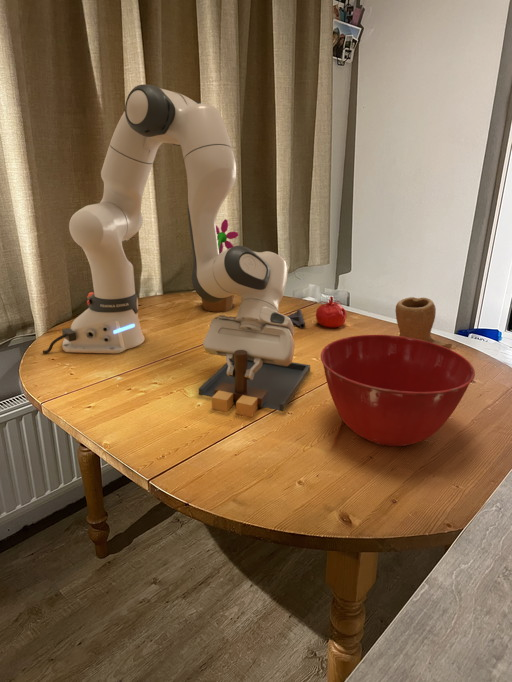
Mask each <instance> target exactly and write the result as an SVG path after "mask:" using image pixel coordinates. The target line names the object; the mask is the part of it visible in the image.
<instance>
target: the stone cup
mask: <svg viewBox="0 0 512 682" xmlns="http://www.w3.org/2000/svg"><path fill="white" fill-rule="evenodd" d="M395 319H396V323H397V326H398V330H399V336H402V337H408V338H414V339H419V340H423V341H427V342H431V343H434V344H437V345H440V346H443V347H446V348H448V349H450V350H451V348H452V347H453V343H452V342H447V341H442V340H439V339H435V338H432V336H431V335H432V334H431V332H432V329H433V326H434V323H435V319H436V305H435V303H434V301H433V300H432V299H430V298H429V297H428V298H427V297H414V296H411V297H406V298H402V299H401V300H399V301H398V302H397V303H396V305H395Z"/></svg>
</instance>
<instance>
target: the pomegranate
mask: <svg viewBox="0 0 512 682" xmlns="http://www.w3.org/2000/svg"><path fill="white" fill-rule="evenodd" d="M318 303H322V301H319V302H318ZM323 303H324V304H321V305H320V306H318V307H317V309H316V312H315V320H316V322H317V323H318V325H320V326H322V327H324V328H327V329H328V328H330V329H331V328H334V329H335V328H339V327H341V326H344V325H345V323H346V319H347V314H348V313H347V311H346V309H345V308H344V307H343V303H342V302H340V300H337V301H334V296H331V295H330V296H329V298H327V301H323Z"/></svg>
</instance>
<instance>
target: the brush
mask: <svg viewBox="0 0 512 682" xmlns="http://www.w3.org/2000/svg"><path fill="white" fill-rule="evenodd" d="M246 369H248V368H247V351H245V350H236V351H235V352H234V373H235V384H230V383H224V382H222V383H221V384H220V385H219V386H218V387H217V388H216V389H215V394H216V393H217V392H218V391H224V392H229V393H233V404H236V402H237V401H238V400H239V398H240V397H241V396H242V395H245V396H250V397H255V398H258V401H257V409H262V408H263V407H262V406H263V405H264V403H265V402H266V401H267V397H268V390H262V389H257V388H251V387H248V379H246V378H245V373H246Z"/></svg>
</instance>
